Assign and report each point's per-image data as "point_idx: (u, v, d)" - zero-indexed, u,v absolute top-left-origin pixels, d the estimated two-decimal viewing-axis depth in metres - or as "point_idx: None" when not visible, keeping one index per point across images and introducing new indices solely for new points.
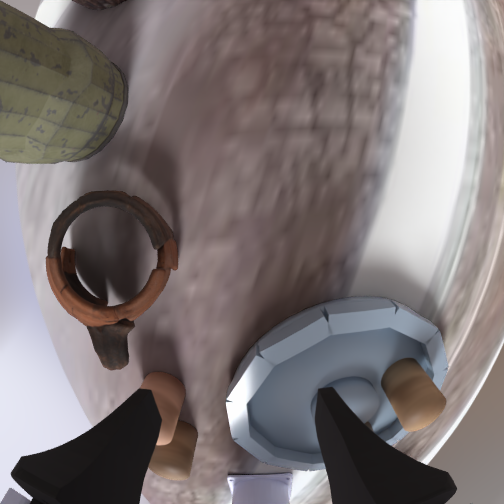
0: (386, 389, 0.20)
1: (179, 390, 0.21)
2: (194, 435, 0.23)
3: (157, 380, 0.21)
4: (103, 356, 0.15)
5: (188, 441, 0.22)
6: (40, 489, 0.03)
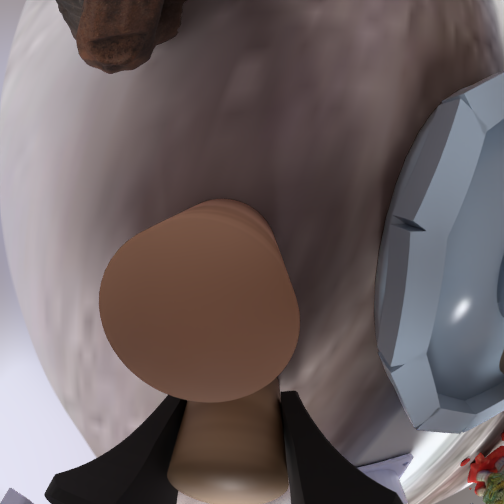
0: None
1: (273, 235, 0.09)
2: (278, 390, 0.11)
3: (217, 201, 0.09)
4: None
5: (273, 402, 0.10)
6: None
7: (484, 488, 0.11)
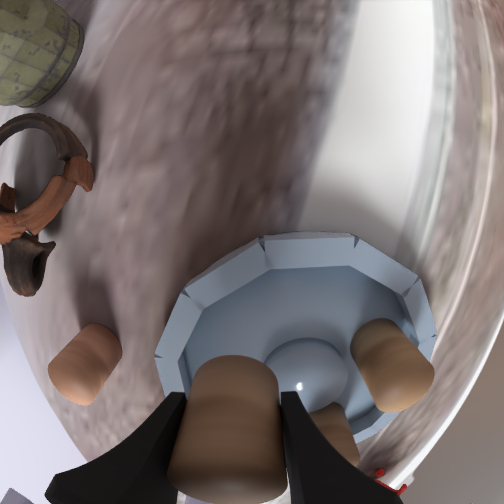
0: (355, 356, 0.17)
1: (111, 344, 0.19)
2: (278, 392, 0.11)
3: (88, 331, 0.18)
4: (9, 274, 0.12)
5: (274, 403, 0.10)
6: None
7: None
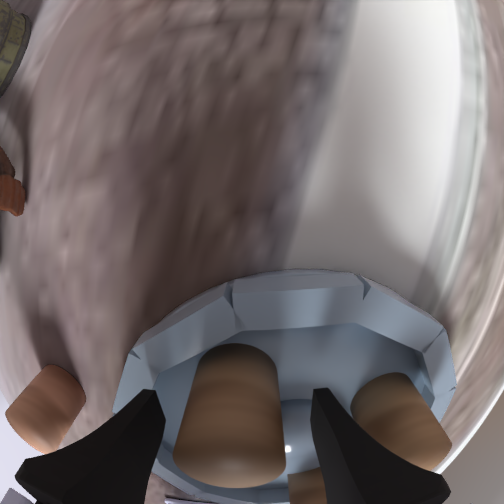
0: (356, 421, 0.12)
1: (71, 390, 0.14)
2: (277, 378, 0.12)
3: (45, 374, 0.13)
4: None
5: (273, 388, 0.10)
6: (45, 492, 0.03)
7: None
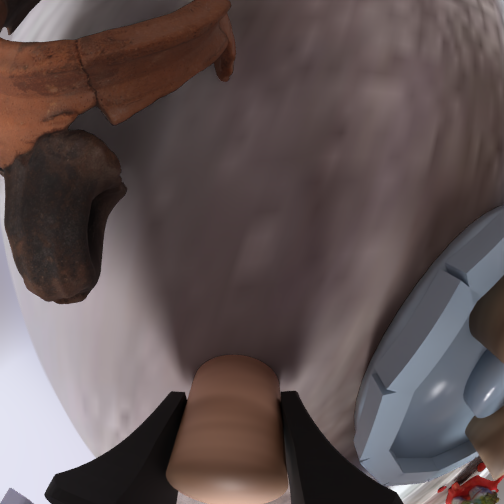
0: None
1: (274, 385, 0.11)
2: None
3: (227, 371, 0.10)
4: (19, 239, 0.04)
5: None
6: None
7: None
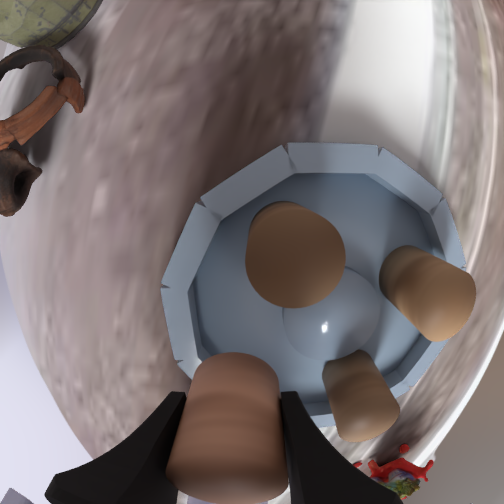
0: (387, 284, 0.15)
1: (274, 383, 0.11)
2: None
3: (226, 369, 0.10)
4: None
5: None
6: None
7: None
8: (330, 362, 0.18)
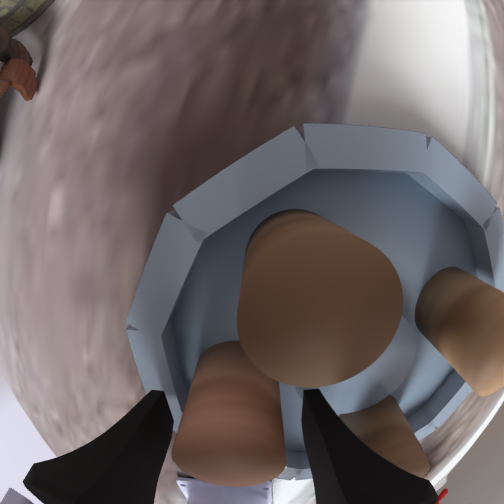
0: (428, 321, 0.11)
1: None
2: None
3: (228, 356, 0.11)
4: None
5: None
6: (57, 498, 0.03)
7: None
8: None
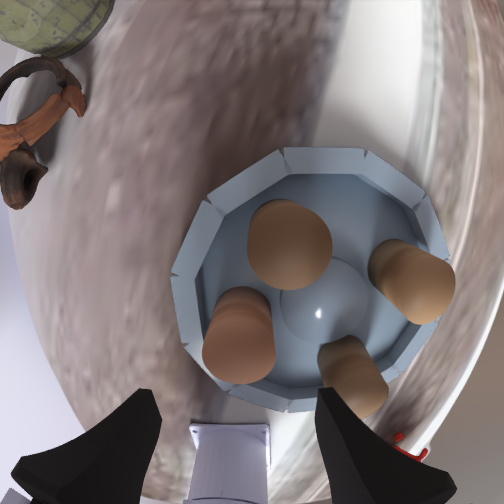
0: (374, 273, 0.17)
1: (267, 304, 0.18)
2: None
3: (238, 293, 0.18)
4: (3, 182, 0.13)
5: None
6: (40, 489, 0.03)
7: None
8: (324, 346, 0.20)
